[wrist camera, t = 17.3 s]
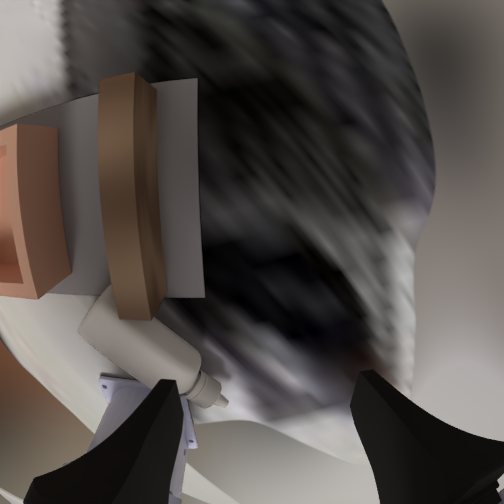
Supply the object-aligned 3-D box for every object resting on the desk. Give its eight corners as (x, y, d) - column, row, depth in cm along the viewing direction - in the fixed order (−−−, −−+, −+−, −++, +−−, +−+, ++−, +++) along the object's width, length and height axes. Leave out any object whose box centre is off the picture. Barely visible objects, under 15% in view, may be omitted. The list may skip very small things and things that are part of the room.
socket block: (71, 273, 18) (38, 299, 14) (-1, 271, 18) (-32, 291, 14) (57, 127, 15) (17, 123, 11) (-15, 152, 15) (-51, 156, 10)
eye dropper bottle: (122, 270, 19) (246, 366, 22) (85, 322, 19) (202, 405, 22) (102, 289, 15) (255, 399, 18) (63, 349, 15) (203, 441, 18)
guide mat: (205, 296, 19) (204, 297, 19) (-20, 286, 19) (-22, 286, 18) (197, 78, 15) (197, 78, 15) (-38, 146, 14) (-40, 146, 14)
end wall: (167, 290, 19) (151, 320, 15) (140, 290, 19) (119, 319, 15) (157, 89, 15) (134, 72, 11) (127, 94, 15) (99, 79, 11)
